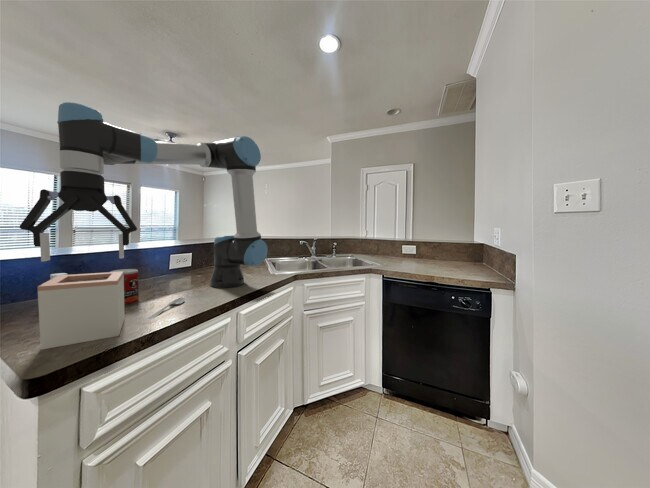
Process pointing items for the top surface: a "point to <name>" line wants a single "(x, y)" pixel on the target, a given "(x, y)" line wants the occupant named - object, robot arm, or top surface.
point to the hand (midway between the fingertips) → (86, 259)
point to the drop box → (80, 308)
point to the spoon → (179, 301)
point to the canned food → (130, 285)
